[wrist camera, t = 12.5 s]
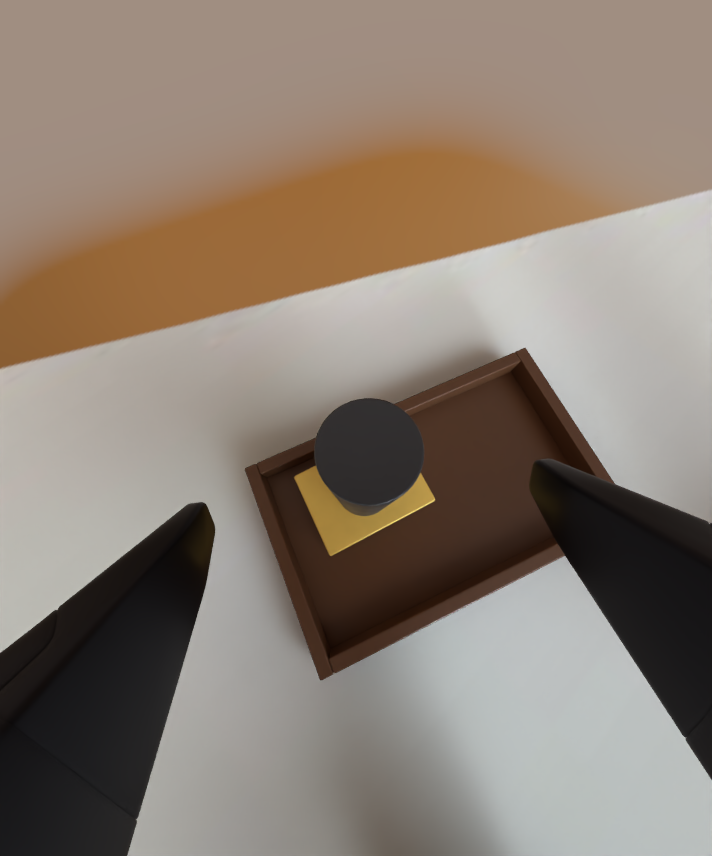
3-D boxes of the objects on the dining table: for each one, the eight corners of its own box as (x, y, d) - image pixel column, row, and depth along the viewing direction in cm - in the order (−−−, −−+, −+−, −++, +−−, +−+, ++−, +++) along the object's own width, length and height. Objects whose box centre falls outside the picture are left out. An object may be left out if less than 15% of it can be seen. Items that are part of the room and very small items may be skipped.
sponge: (390, 437, 21) (428, 333, 9) (427, 503, 20) (518, 473, 8) (300, 481, 20) (227, 426, 9) (333, 553, 19) (296, 593, 8)
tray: (510, 363, 23) (525, 347, 21) (609, 519, 20) (638, 518, 18) (255, 473, 21) (243, 468, 19) (324, 664, 18) (320, 681, 16)
